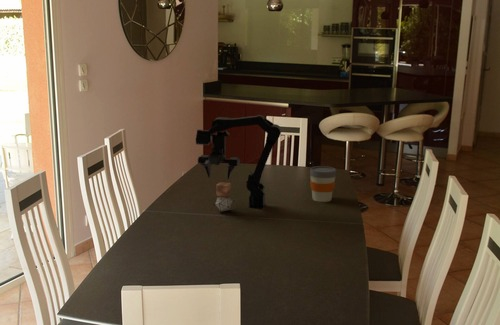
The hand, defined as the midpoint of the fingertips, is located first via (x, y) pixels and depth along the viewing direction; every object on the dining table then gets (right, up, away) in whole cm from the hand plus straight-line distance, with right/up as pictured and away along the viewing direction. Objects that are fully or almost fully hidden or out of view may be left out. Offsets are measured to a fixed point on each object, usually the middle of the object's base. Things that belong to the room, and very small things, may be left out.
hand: (218, 178), depth 254 cm
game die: (+3, -15, -6) cm, 16 cm away
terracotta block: (+3, -7, -8) cm, 11 cm away
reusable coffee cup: (+49, -11, +12) cm, 52 cm away
